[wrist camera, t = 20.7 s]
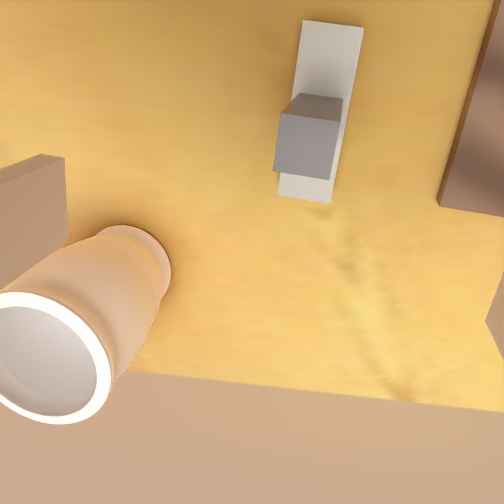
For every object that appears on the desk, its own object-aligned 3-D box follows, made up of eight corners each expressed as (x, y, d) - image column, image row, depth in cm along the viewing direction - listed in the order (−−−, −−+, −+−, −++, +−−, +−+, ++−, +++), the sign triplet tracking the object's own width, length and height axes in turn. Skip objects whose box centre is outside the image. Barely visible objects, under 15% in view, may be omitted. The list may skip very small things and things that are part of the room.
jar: (99, 191, 42) (-18, 263, 29) (201, 250, 43) (134, 348, 29) (63, 280, 47) (-52, 378, 33) (156, 332, 47) (79, 450, 34)
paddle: (306, 21, 34) (283, 12, 22) (363, 28, 33) (370, 23, 22) (282, 183, 39) (253, 246, 27) (331, 192, 39) (323, 259, 27)
